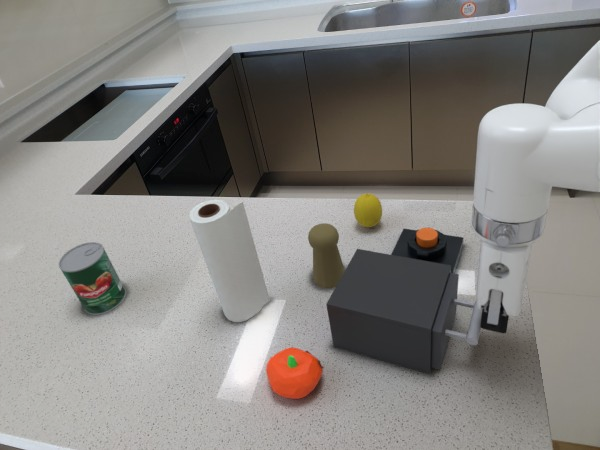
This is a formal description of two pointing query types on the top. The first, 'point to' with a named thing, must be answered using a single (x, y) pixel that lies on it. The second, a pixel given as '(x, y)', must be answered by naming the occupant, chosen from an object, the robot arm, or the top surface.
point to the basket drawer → (446, 319)
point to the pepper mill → (325, 255)
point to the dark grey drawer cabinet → (388, 308)
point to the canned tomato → (92, 278)
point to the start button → (426, 237)
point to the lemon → (368, 210)
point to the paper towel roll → (230, 258)
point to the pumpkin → (293, 373)
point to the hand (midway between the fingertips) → (493, 326)
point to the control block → (430, 249)
